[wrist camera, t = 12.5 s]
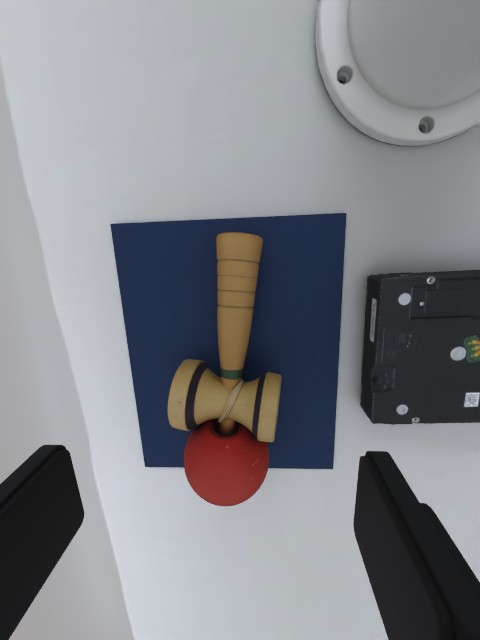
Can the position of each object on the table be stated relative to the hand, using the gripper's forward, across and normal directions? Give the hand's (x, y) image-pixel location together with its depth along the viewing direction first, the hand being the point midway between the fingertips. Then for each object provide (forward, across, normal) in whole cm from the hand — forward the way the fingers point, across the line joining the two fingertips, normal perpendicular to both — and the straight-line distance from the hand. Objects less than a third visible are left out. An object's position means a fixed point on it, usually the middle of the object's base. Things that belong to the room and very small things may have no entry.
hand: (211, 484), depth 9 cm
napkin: (+13, +1, +1) cm, 13 cm away
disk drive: (+13, -16, 0) cm, 21 cm away
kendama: (+13, +1, +1) cm, 13 cm away
